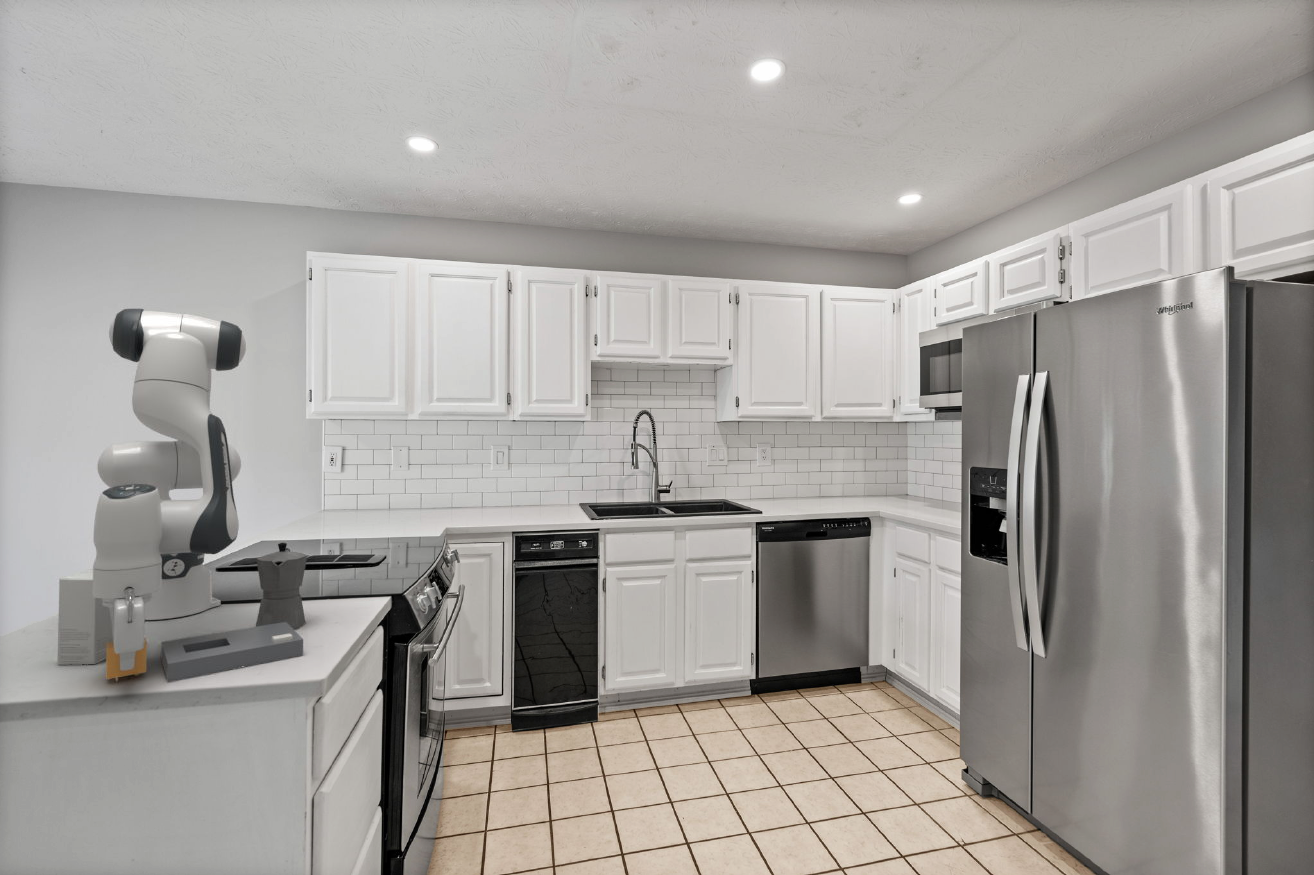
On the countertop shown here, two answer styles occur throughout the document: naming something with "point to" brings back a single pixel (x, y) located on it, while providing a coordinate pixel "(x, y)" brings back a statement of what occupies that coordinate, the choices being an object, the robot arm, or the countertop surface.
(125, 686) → the countertop surface
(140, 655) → the plug
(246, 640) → the socket plate
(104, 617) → the skincare box
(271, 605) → the coffeepot
